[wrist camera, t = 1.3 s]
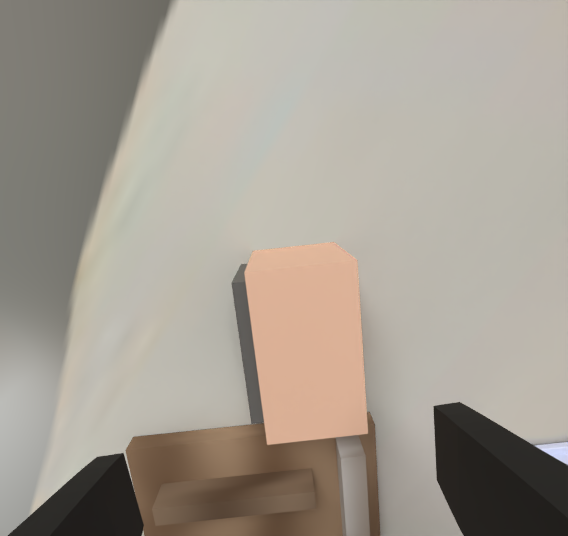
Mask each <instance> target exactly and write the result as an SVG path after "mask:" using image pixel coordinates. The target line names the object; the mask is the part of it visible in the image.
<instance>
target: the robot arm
mask: <svg viewBox="0 0 568 536" xmlns="http://www.w3.org/2000/svg"><path fill="white" fill-rule="evenodd" d="M434 426H435V448H436V470H437V481H438V483H439V485H440V488H441V490H442V492H443V494H444V496H445V498H446V501H447V503H448V505H449V507H450V509H451V511H452V513H453V515H454V517H455V520H456V522H457V524H458V526H459V528H460V530H461V532H462V533H463V535H464V536H568V442H563V443H553V444H544V445H532V444H530V443H529V442H527V441H525V440H524V439H522V438H520V437H519V436H517V435H515V434H513V433H512V432H510V431H508V430H507V429H505V428H503V427H502V426H500V425H498V424H497V423H495V422H493V421H492V420H490V419H488V418H487V417H485V416H483V415H481V414H480V413H478V412H476V411H475V410H473V409H471V408H469V407H468V406H466V405H464V404H462V403H460V402H457V403H451V404H444V405H438V406H434ZM143 527H144V524H143V520H142V517H141V513H140V510H139V506H138V503H137V499H136V496H135V492H134V489H133V485H132V482H131V478H130V475H129V471H128V468H127V464H126V460H125V457H124V453H121V454H114V455H108V456H101V457H96V458H95V459H94V460H93V461H92V462H90V463H89V464H88V465H87V466H85V467H84V468H83V469H82V470H81V471H80V472H78V473H77V474H76V475H75V476H74V477H73V478H72V479H70V480H69V481H68V482H67V483H66V484H65V485H64V486H63V487H61V488H60V489H59V490H58V491H57V492H56V493H55V494H54V495H53V496H51V497H50V498H49V499H48V500H47V501H46V502H45V503H44V504H43V505H41V506H40V507H39V508H38V509H37V510H36V511H35V512H34V513H33V514H31V515H30V516H29V517H28V518H27V519H26V520H25V521H24V522H22V523H21V524H20V525H19V526H18V527H17V528H16V529H15V530H13V532H11V533H10V534H9V535H8V536H141V535H142V531H143Z"/></svg>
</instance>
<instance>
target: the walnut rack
mask: <svg viewBox="0 0 568 536" xmlns="http://www.w3.org/2000/svg"><path fill="white" fill-rule="evenodd" d="M367 424H368V434H362V435H353V436H344V437H335V438H326V439H317V440H307V441H298V442H289V443H280V444H271V445H267V440H266V432H265V425H264V423H262V424H253V425H243V426H234V427H224V428H215V429H205V430H196V431H186V432H176V433H167V434H157V435H148V436H138V437H133V439H132V440H131V442H130V444H129V445H128V447H127V449H126V454H127V459H128V463H129V468H130V472H131V477H132V481H133V486H134V490H135V495H136V499H137V503H138V506H139V510H140V513H141V517H142V520H143V524H144V527H143V530H144V535H145V536H380V522H379V502H378V481H377V461H376V440H375V424H374V421H373V419H372V417H371V415H370V412H368V413H367Z"/></svg>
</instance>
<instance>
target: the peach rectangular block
mask: <svg viewBox="0 0 568 536" xmlns="http://www.w3.org/2000/svg"><path fill="white" fill-rule="evenodd" d="M232 289H233V296H234V303H235V310H236V317H237V324H238V331H239V338H240V345H241V352H242V359H243V367H244V374H245V381H246V388H247V395H248V402H249V409H250V416H251V423H252V424H255V423H264V425H265V432H266V440H267V445H271V444H280V443H289V442H298V441H307V440H317V439H326V438H335V437H344V436H353V435H362V434H368V424H367V408H366V392H365V376H364V360H363V344H362V328H361V312H360V296H359V280H358V264H357V260H356V259H355V258H354V257H353V256H351V255H350V254H349V253H347V252H346V251H345V250H343V249H342V248H341V247H340V246H338V245H337V244H336V243H334V242H330V243H321V244H312V245H303V246H294V247H284V248H275V249H266V250H257V251H253V252H252V255H251V257H250V260H249V262H248V264H241V266H240V268H239V270H238V272H237V273H236V275H235V277H234V279H233V281H232Z"/></svg>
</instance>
